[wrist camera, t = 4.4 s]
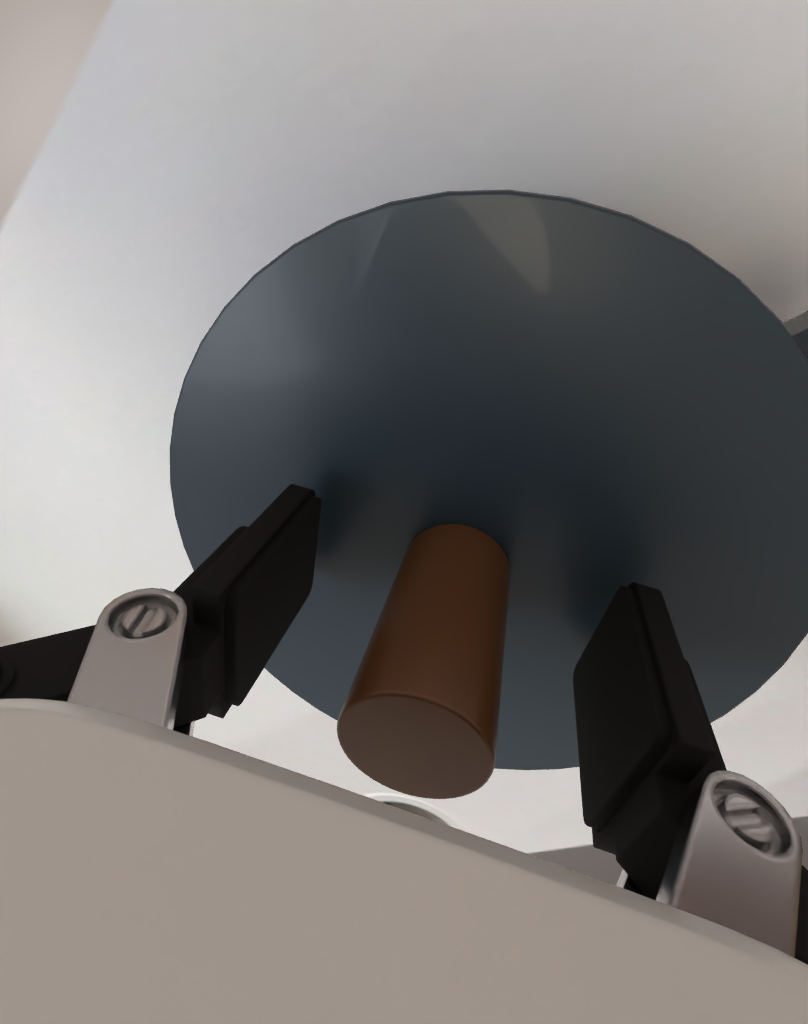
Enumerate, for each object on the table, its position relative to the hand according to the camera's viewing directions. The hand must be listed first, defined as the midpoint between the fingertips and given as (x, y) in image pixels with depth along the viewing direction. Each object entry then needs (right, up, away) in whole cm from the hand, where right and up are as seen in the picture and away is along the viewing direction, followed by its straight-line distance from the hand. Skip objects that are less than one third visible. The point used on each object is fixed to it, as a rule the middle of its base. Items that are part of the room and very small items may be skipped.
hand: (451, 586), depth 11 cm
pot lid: (0, +1, +1) cm, 1 cm away
